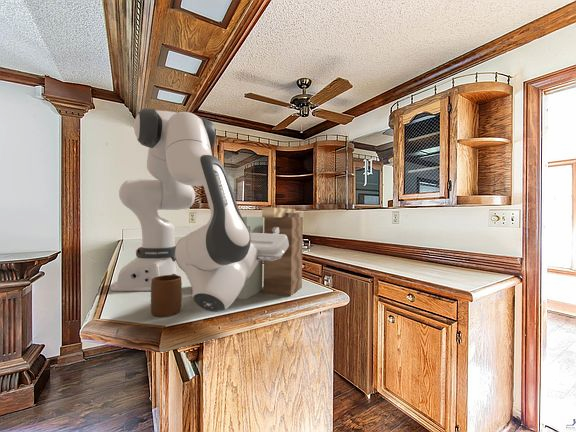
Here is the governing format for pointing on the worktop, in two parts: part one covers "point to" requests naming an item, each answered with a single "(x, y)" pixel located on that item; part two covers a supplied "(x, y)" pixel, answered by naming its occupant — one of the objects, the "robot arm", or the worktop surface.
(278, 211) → the tan wooden bar
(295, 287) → the brown wooden block
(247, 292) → the shelf block
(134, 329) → the worktop surface
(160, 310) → the mug
